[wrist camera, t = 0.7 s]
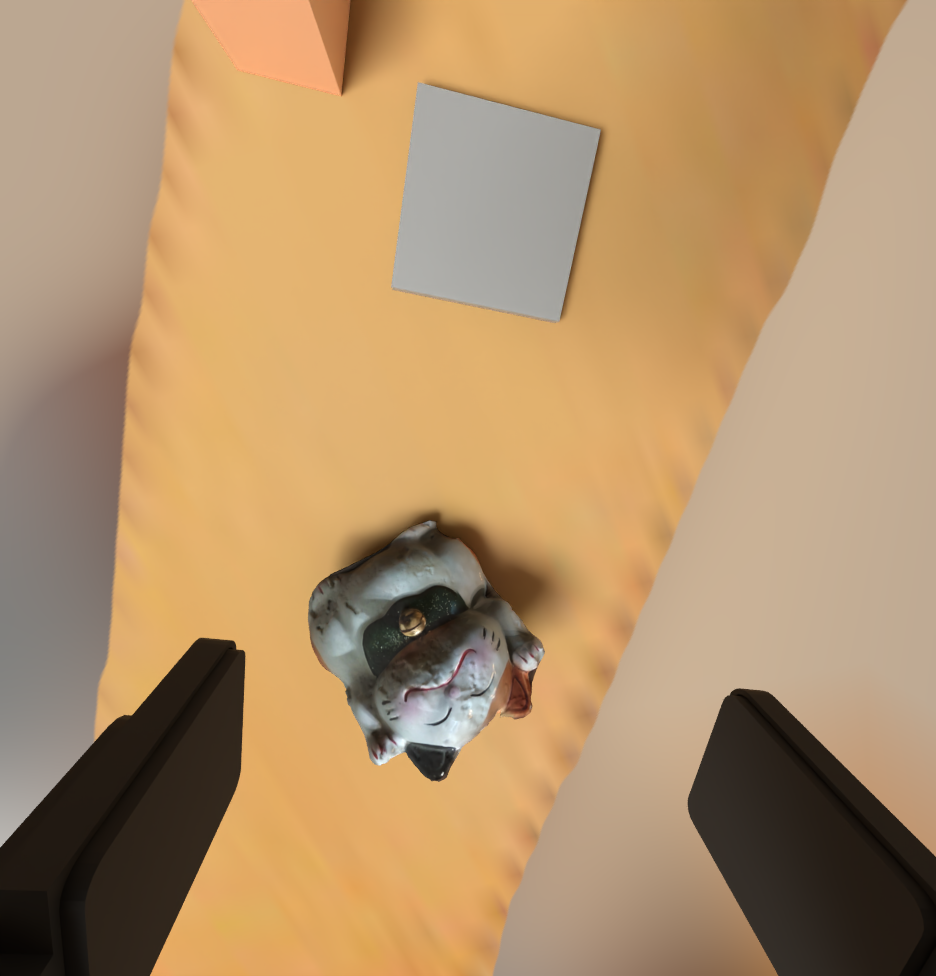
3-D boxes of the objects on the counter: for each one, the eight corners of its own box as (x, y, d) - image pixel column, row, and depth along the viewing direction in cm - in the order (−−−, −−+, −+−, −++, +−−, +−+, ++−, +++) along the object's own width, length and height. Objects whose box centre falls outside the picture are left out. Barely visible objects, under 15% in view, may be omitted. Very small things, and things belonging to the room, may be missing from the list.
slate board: (418, 93, 30) (417, 82, 28) (594, 138, 31) (601, 129, 30) (392, 289, 32) (391, 286, 31) (554, 323, 34) (559, 321, 33)
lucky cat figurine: (467, 497, 37) (572, 625, 26) (484, 591, 44) (571, 719, 34) (281, 578, 33) (320, 764, 22) (335, 666, 40) (382, 836, 30)
